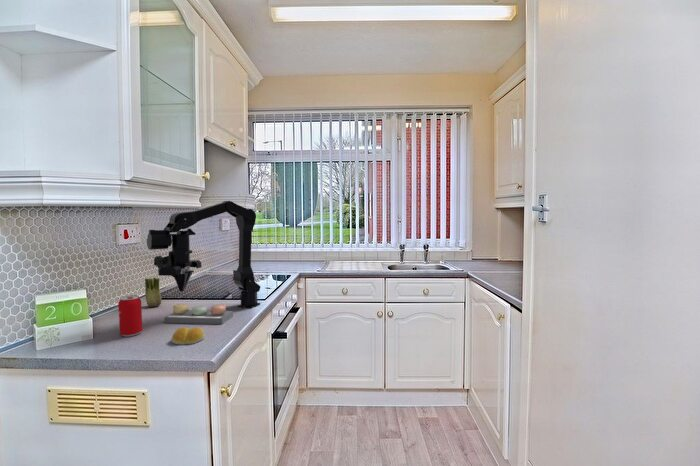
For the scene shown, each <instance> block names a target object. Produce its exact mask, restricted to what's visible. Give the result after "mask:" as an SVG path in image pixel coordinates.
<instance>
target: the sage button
mask: <svg viewBox="0 0 700 466" xmlns="http://www.w3.org/2000/svg"><path fill="white" fill-rule="evenodd" d="M191 310H192V315H195V316H198V315H204V314H206V313H207V311H208V308H207V306H205V305H198V306H194V307H192V308H191Z"/></svg>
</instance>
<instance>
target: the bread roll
mask: <svg viewBox="0 0 700 466" xmlns="http://www.w3.org/2000/svg"><path fill="white" fill-rule="evenodd" d="M204 338H205V331H204V330H203V328H201V327H192V328H187V327H179V328H178V329H176V330H175V332H174V333H173V334H172V335H171V342H172V344H175V345H192V344H196V343H200V342H201V341H203V340H204Z"/></svg>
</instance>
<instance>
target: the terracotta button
mask: <svg viewBox="0 0 700 466" xmlns="http://www.w3.org/2000/svg"><path fill="white" fill-rule="evenodd" d="M226 308H227V306H226V305H225V304H214V305H211V306H210V311H211V314H221V313H224V312H226V311H227V310H226Z"/></svg>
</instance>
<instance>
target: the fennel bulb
mask: <svg viewBox="0 0 700 466" xmlns="http://www.w3.org/2000/svg"><path fill="white" fill-rule="evenodd" d="M144 284H145V293H144V295H145V300H146V304H147V306H148V307H149V308H157V307H159V306H160V305H161V304H162V294H161V290H160V278H159V277H149V278H148V277H146V278H144Z"/></svg>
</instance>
